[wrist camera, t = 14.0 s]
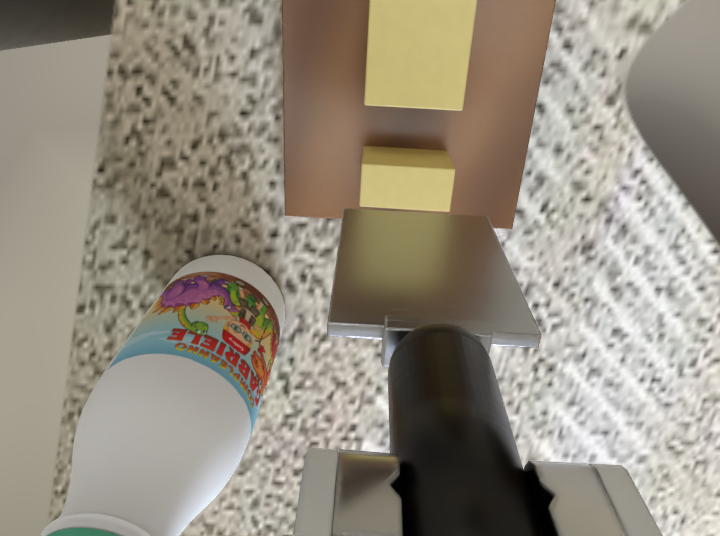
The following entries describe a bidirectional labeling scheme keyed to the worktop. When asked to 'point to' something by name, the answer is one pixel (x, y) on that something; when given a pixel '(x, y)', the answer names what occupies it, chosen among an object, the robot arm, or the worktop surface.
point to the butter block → (418, 53)
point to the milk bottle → (175, 404)
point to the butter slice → (406, 179)
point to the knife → (440, 362)
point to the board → (408, 125)
